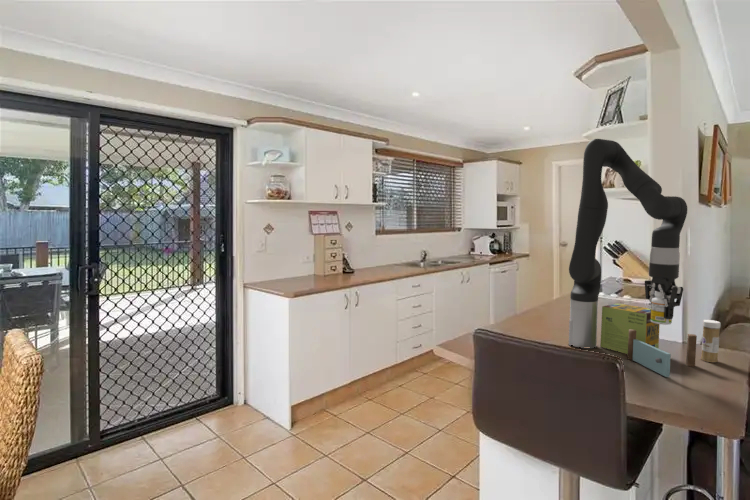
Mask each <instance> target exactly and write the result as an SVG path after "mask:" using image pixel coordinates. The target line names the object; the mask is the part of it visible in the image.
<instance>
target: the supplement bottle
mask: <svg viewBox="0 0 750 500" xmlns="http://www.w3.org/2000/svg"><path fill="white" fill-rule="evenodd" d="M666 296H670V295H666ZM668 302H670V300H669V299H668ZM664 307H666V306H665V304H664V300H663V299H662V298H661V293H660V292H658V291H655V298H653V299H652V304H651V303H650V309H651V322H653V323H656V324H660V325H663V326H664V325H665V326H666V325H671V324H672V321H673V318H672V319H665V318H664Z"/></svg>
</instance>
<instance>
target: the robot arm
mask: <svg viewBox="0 0 750 500" xmlns="http://www.w3.org/2000/svg"><path fill="white" fill-rule="evenodd" d="M582 164H583V166H582V168H583V169H582V170H583V171H582V184H581V191H580V192H581V193H580V200H579V206H578V212H577V221H576V228H575V229H576V230H575V239H574V245H573V250H572V255H571V257H570V261H569V266H568V273H569V275H570V277H571V279H572V280H573V285H572V286H573V287H572V289H571V291H570V300H569V301H570V305H569V306H570V307H569V319H568V320H569V321H568V322H569V325H568V327H569V328H568V346H571V345H573V346H572V347H575V348H579V347H581V348H580V349H585V348H584V347H590V348H589V349H595V348H597V343H598V342H597V338H598V313H599V312H598V311H599V310H598V309H599V296H600V293H601V284H602V283H601V282H602V267H601V263H600V262H599V260H598V259H596V251H597V246H598V242H599V240H600V238H601V235H602V233H603V231H604V228H605V225H606V222H607V215H608V209H609V202H608V198H607V194H606V192H605V188H604V186H603V182H602V173H603V168H604V167H605V168H610V169H612V170H613V171H615V172H616V173H617V174H618V175H619V177H620V178H621V180H622V183H623V185H624V187H625V188H626V190H628V192H629V193H630V194H632V195H633V196H634V197H635V198H636V199H637V200H639V202H640V204H641V206H642V207H643V209H644V211H645V212H646V214H647V215H648V216H650V217H651V218H652V219H655V220H658V221H661V220H662V222H661V225H660V226H659V227H656V228H654V229H653V230H652V233H651V247H650V253H649V266H648V267H649V268H648V276H649V277H650V278H651V280H649V279H648V280H647V279H646V280H644V291H645V292H644V293H645V299H646V300H648V301H649V302H650V305H651V304H652V299H653V298H655V291H658V292H660V293H661V298H662V299H663V300H664V304H665V306H666V307H664V318H665V319H672V320H673V317H674V312H675V311H674V309H675V307H680V306H681V301H682V297H683V293H684V286H678V285H677V283H676V279H678V278H679V275H680V258H681V255H680V253H681V252H680V239H681V236H680V235H681V232H682V230H683V227H684V225H685V221H686V219H687V215H688V204H687V202H686V200H685V199H684V198H682V197H680V196H676V195H675V196H672V195H671V196H669V195H668V196H666V195H665V196H664V195H663V194H662V192H663V188H662V186H661V184H659V182H657V181H656V180H655V179H654V178H652V177H651V176H650V175H648V174H647V173H646V172H645V171H644V170H642V168H641V167H639V165H637V163H636V162H635V161H634V160H633V159H632V157H631V156H630V155H629V154H628V153H627V151H626V150H625V148H623V146H622V145H621V144H620V143H619V142H617V141H615V140H611V139H605V138H604V139H603V138H594V139H591V140H590V141H589V142H588V143H587V145H586V146H585V148H584V151H583V162H582ZM666 295H670V296H666ZM668 299H669V300H670V302H668ZM649 309H650V311H651V308H649ZM594 347H595V348H594Z"/></svg>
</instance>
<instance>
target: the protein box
mask: <svg viewBox="0 0 750 500" xmlns="http://www.w3.org/2000/svg"><path fill="white" fill-rule="evenodd" d="M650 309H651V308H648V307H642V306H636V305H629V304H623V303H613V304H608V305H603V306H601V325H600V345H599V346H600V348H602V347H603V349H606V348H607V350H610V349H611V351H613V352H617V351H618V353H622V354H626V355H628V337H629V329H633V330H636V339H637V340H640V341H642V342H644V343H647V344H649V345H651V346H653V347H656V348H658V349H660V348H659V347H660V345H659V344H660V343H659V341H660V326H661V324H656V323H653V322H651V311H650Z"/></svg>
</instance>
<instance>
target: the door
mask: <svg viewBox="0 0 750 500" xmlns="http://www.w3.org/2000/svg"><path fill="white" fill-rule="evenodd" d="M671 356H672V355H671V353H670V352H667V351H664V350H663V349H660V348H659V349H658V348H656V347H653V346H651V345H649V344H647V343H644V342H642V341H640V340H637V339H633V360H632V361H634V362H636V363H637V364H640V365H641V366H643V367H645V368H647V369H649V370H651V371H654V372H655V373H657V374H659V375H661V376H663V377H664V378H670V374H671V372H670V371H671Z"/></svg>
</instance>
